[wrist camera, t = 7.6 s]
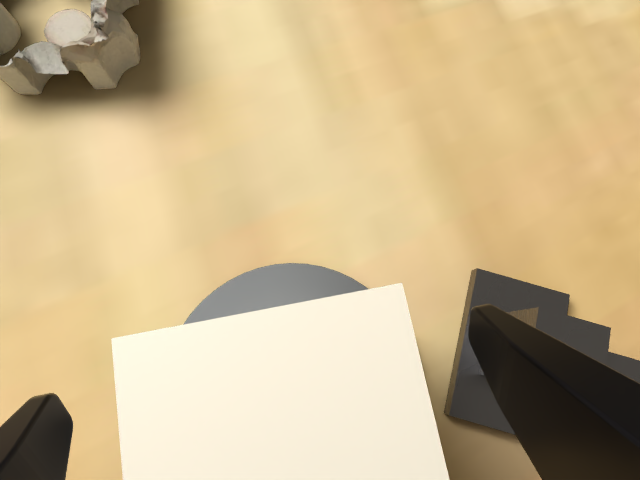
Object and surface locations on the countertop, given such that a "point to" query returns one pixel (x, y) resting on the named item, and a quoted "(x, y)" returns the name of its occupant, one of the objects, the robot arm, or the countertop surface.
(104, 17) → the egg carton
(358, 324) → the cream link
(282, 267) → the slate coaster
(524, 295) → the black stand
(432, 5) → the countertop surface
